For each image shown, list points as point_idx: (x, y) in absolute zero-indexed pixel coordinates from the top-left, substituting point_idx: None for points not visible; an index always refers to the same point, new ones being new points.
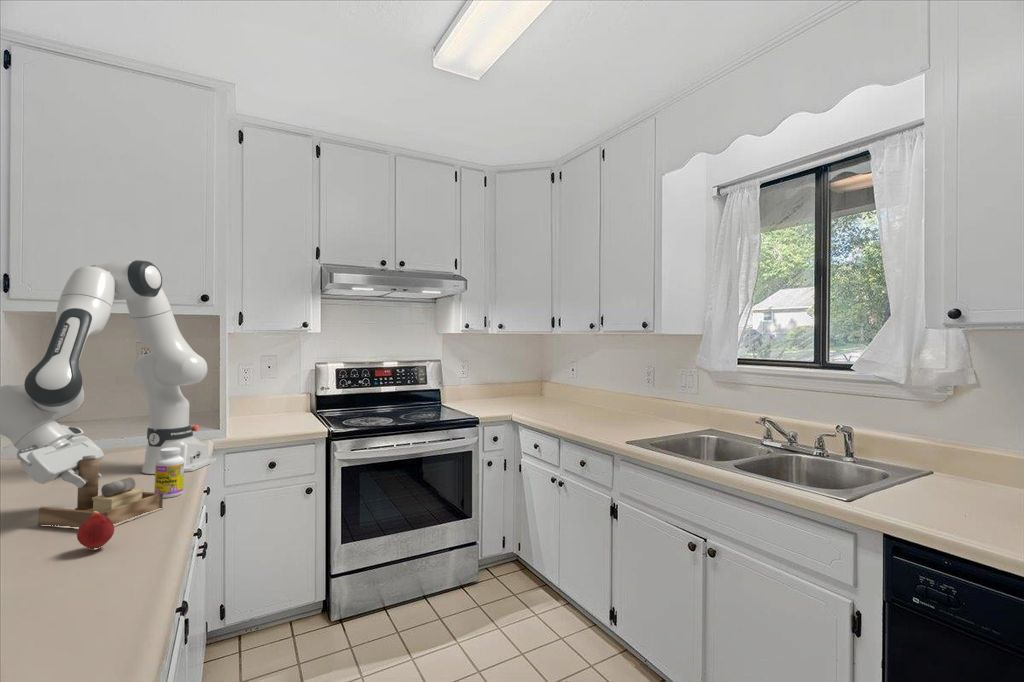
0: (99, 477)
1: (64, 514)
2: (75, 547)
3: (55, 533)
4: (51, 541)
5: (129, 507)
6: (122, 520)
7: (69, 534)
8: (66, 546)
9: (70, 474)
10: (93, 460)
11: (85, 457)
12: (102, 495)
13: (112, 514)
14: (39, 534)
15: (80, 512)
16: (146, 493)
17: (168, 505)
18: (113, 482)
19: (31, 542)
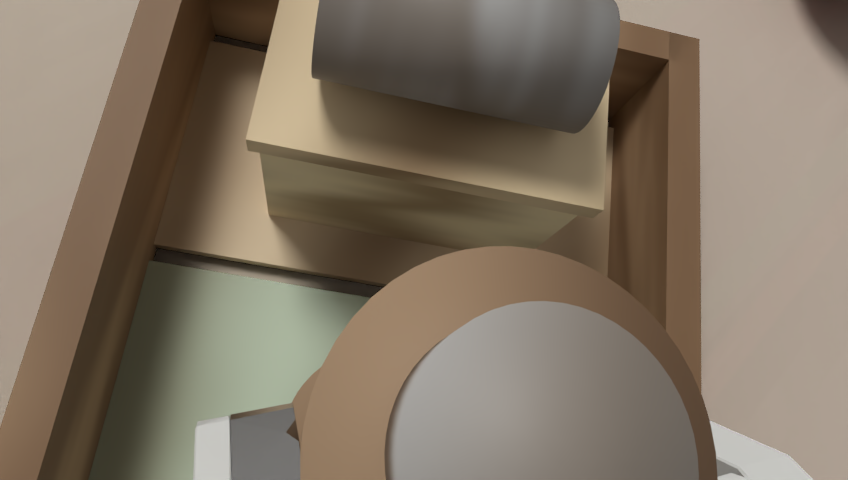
0: (254, 412)
1: None
2: (826, 84)
3: (705, 353)
4: (802, 264)
5: None
6: None
7: (700, 253)
8: (829, 134)
9: (790, 467)
10: (569, 274)
11: (687, 438)
12: (529, 166)
13: None
14: None
15: (698, 212)
16: (172, 33)
17: (94, 8)
18: (548, 7)
19: (840, 364)
